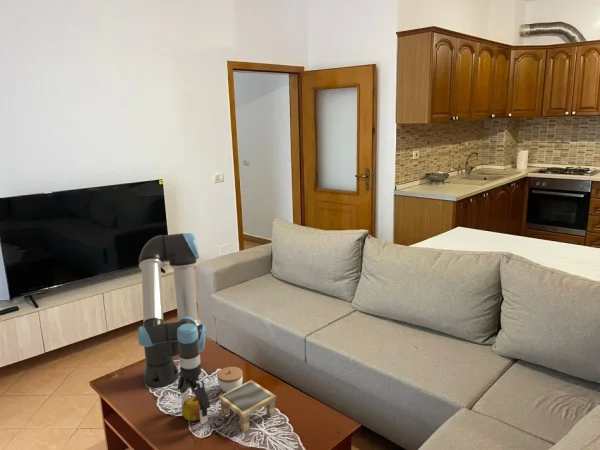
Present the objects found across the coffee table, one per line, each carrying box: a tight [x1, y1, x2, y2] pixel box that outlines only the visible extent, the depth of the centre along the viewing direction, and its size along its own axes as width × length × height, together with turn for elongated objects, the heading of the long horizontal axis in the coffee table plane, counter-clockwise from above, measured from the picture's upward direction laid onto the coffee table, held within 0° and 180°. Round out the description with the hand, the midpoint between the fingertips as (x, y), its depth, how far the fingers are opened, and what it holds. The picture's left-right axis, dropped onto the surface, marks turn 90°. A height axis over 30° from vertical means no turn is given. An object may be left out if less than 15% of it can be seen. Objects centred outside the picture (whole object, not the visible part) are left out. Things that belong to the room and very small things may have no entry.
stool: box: [218, 379, 277, 433], centre depth 179 cm, size 16×16×8 cm
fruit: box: [181, 396, 200, 422], centre depth 178 cm, size 10×9×8 cm
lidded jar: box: [216, 366, 244, 393], centre depth 196 cm, size 11×11×9 cm
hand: (194, 414), depth 178 cm, fingers open, 13 cm apart
